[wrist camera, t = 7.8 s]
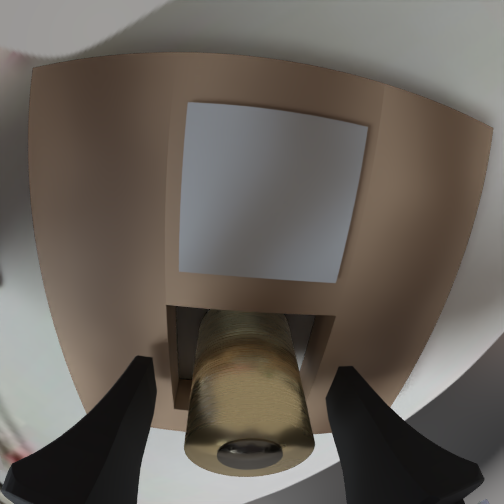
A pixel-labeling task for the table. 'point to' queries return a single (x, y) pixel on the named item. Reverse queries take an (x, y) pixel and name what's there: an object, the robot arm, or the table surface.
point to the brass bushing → (247, 397)
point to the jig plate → (245, 212)
